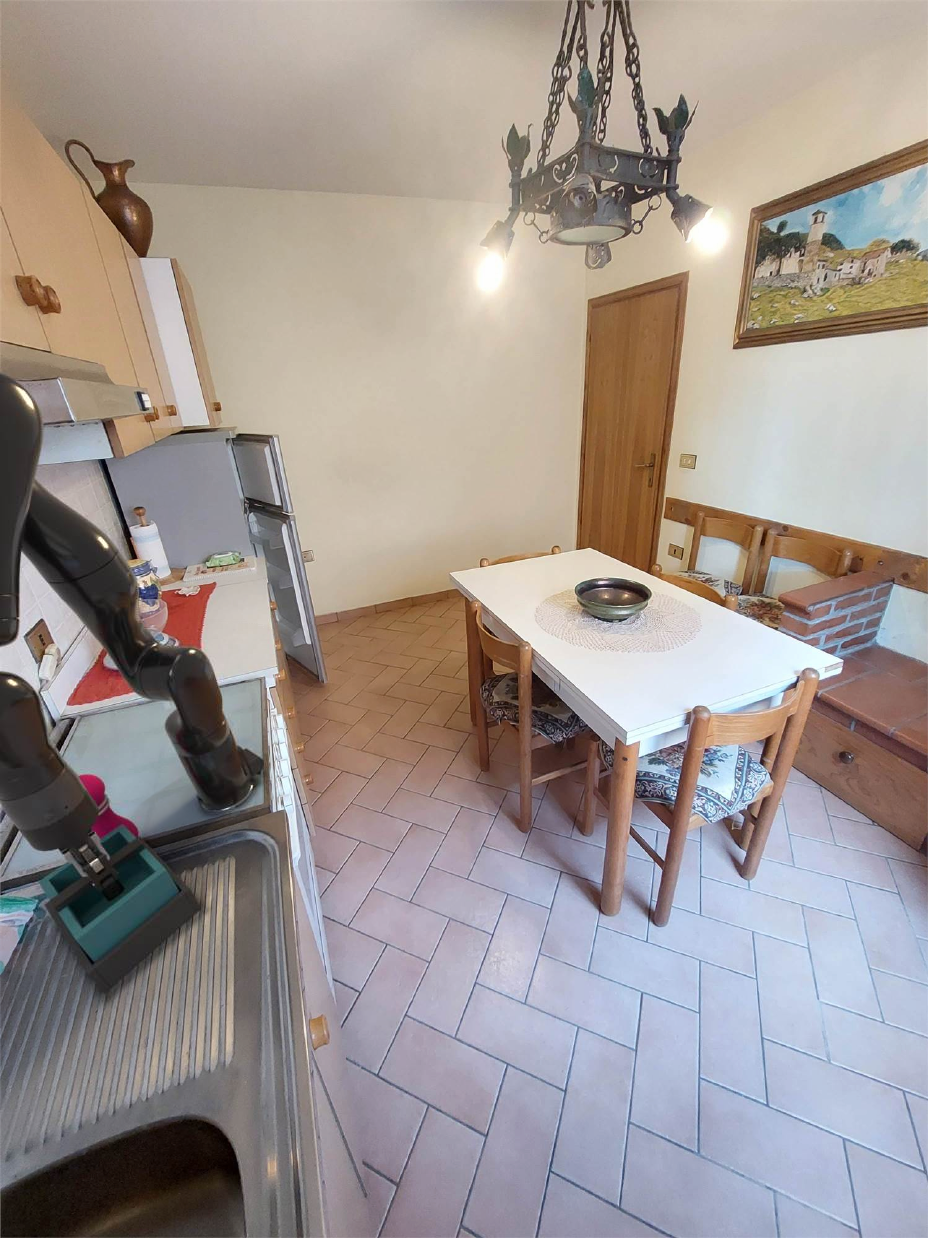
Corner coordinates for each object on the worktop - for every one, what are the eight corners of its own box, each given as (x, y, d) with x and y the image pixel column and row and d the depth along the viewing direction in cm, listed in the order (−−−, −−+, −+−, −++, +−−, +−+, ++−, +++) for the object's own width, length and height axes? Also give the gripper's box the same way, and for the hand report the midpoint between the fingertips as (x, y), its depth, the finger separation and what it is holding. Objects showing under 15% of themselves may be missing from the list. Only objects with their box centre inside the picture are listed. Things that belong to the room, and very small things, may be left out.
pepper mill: (125, 880, 81) (67, 795, 72) (89, 874, 83) (28, 791, 73) (157, 841, 87) (107, 759, 78) (123, 837, 89) (70, 755, 79)
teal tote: (147, 863, 83) (119, 818, 77) (190, 910, 75) (162, 864, 69) (71, 922, 75) (33, 876, 70) (110, 981, 67) (71, 935, 62)
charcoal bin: (153, 858, 84) (139, 836, 82) (203, 911, 75) (189, 888, 73) (62, 927, 75) (43, 904, 72) (107, 997, 66) (87, 974, 63)
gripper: (104, 807, 61) (157, 889, 70) (63, 763, 69) (115, 841, 78) (33, 852, 56) (99, 936, 65) (-3, 799, 64) (60, 880, 72)
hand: (107, 884), depth 71 cm, fingers open, 5 cm apart
